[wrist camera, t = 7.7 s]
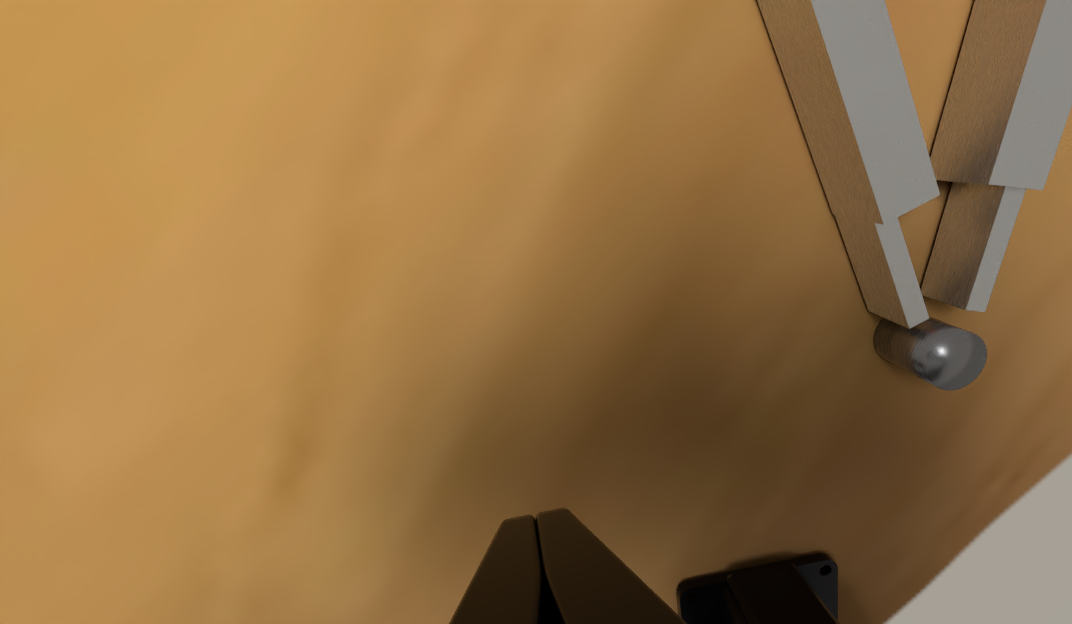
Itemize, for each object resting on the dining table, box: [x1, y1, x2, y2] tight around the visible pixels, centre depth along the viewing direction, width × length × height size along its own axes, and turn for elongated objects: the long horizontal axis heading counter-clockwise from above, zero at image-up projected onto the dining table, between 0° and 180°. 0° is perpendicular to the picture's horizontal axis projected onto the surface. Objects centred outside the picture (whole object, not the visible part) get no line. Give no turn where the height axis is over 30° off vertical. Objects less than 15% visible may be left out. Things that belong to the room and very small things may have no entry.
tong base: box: [874, 0, 1072, 390], centre depth 17 cm, size 22×2×3 cm, turn 174°
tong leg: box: [757, 0, 940, 329], centre depth 16 cm, size 19×2×3 cm, turn 28°
